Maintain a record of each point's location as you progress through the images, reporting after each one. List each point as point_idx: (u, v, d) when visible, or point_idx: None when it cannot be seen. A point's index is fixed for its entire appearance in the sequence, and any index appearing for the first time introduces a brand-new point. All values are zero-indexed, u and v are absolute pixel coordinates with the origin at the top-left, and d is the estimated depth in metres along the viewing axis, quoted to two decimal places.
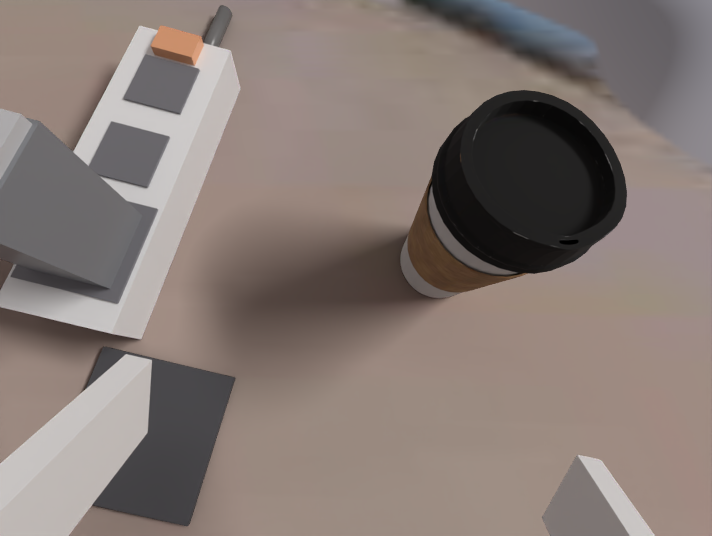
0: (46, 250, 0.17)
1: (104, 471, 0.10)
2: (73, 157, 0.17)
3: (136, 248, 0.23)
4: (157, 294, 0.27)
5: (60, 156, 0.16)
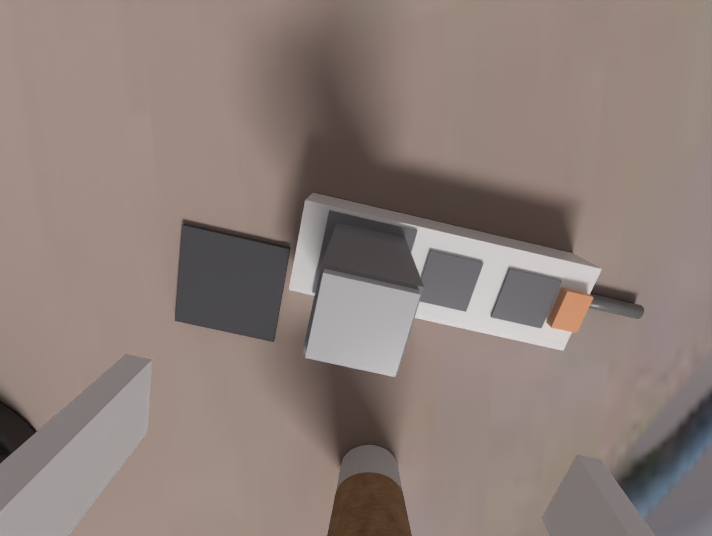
0: None
1: (104, 471, 0.10)
2: None
3: None
4: None
5: None
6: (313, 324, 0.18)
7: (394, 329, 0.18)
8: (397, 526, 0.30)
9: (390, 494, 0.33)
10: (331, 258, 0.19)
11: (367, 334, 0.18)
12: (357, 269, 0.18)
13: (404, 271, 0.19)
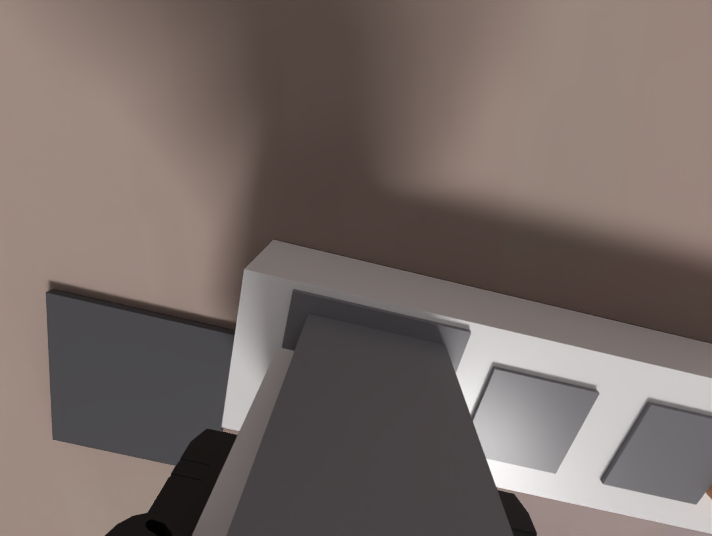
0: None
1: None
2: None
3: None
4: None
5: None
6: None
7: None
8: None
9: None
10: None
11: None
12: None
13: None
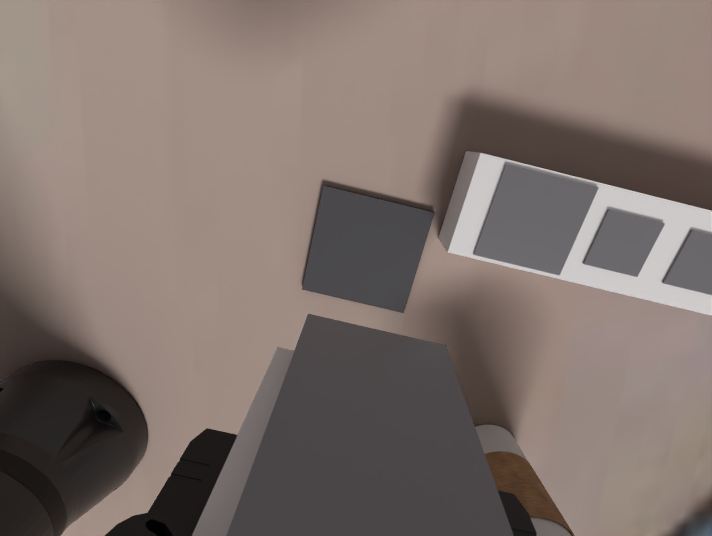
0: None
1: None
2: None
3: (522, 263, 0.27)
4: None
5: None
6: None
7: None
8: (552, 505, 0.28)
9: (531, 473, 0.31)
10: None
11: None
12: None
13: None
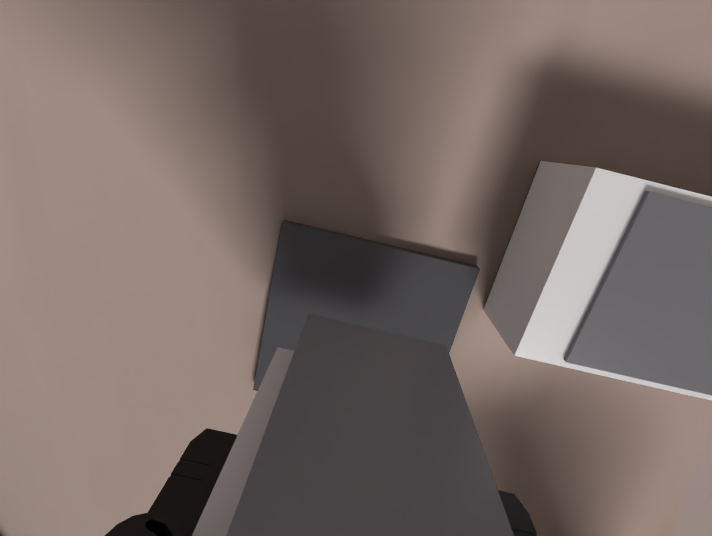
0: None
1: None
2: None
3: (657, 377, 0.14)
4: None
5: None
6: None
7: None
8: None
9: None
10: None
11: None
12: None
13: None
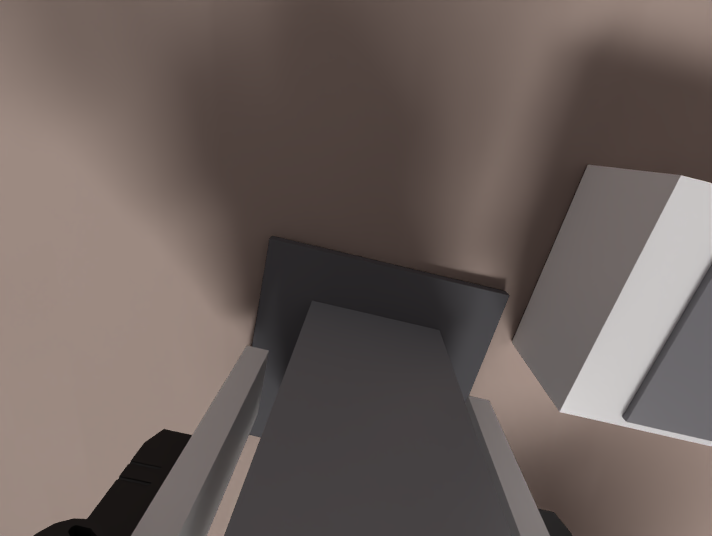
0: None
1: (241, 443, 0.11)
2: None
3: None
4: None
5: None
6: None
7: None
8: None
9: None
10: (260, 505, 0.06)
11: None
12: None
13: (468, 519, 0.07)
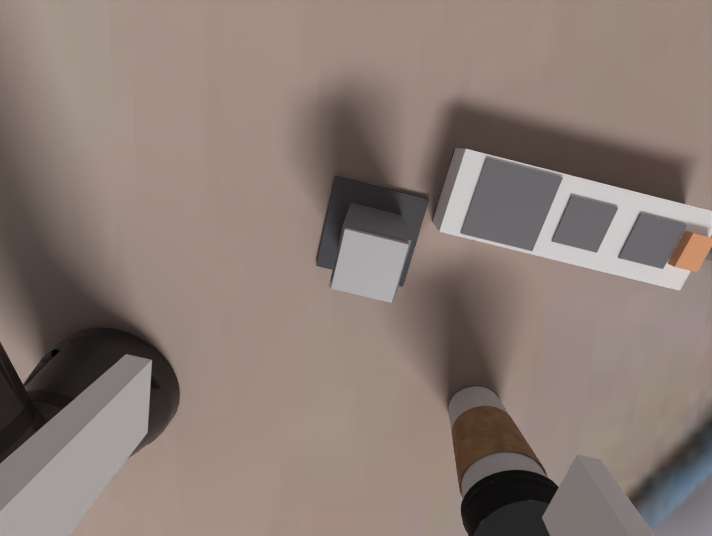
0: None
1: (104, 471, 0.10)
2: None
3: (501, 240, 0.32)
4: None
5: None
6: (337, 264, 0.27)
7: (391, 269, 0.27)
8: (526, 445, 0.34)
9: (510, 422, 0.36)
10: (349, 221, 0.27)
11: (373, 272, 0.27)
12: (367, 228, 0.27)
13: (399, 232, 0.28)
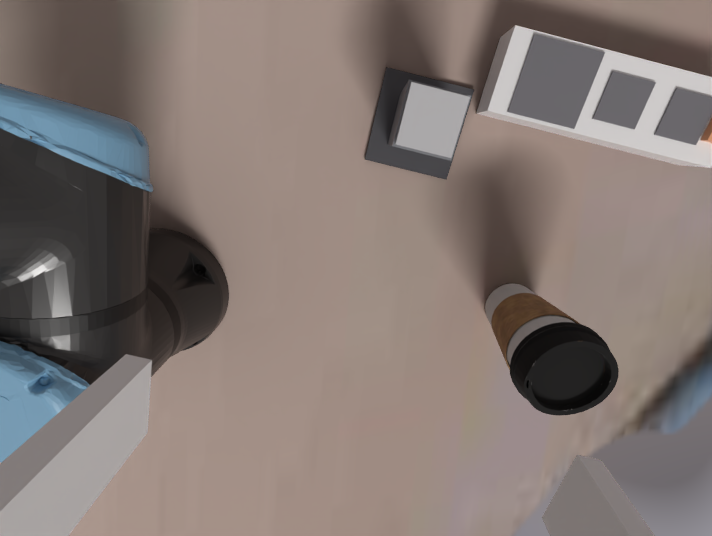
0: None
1: (104, 471, 0.10)
2: None
3: (545, 118, 0.34)
4: (507, 121, 0.38)
5: None
6: (402, 119, 0.29)
7: (452, 122, 0.29)
8: None
9: None
10: None
11: (435, 126, 0.29)
12: (430, 85, 0.29)
13: None
